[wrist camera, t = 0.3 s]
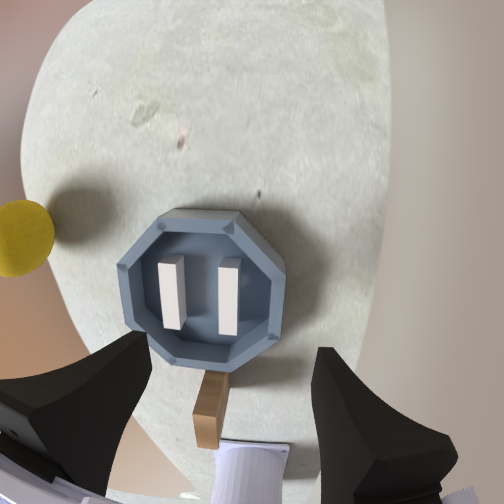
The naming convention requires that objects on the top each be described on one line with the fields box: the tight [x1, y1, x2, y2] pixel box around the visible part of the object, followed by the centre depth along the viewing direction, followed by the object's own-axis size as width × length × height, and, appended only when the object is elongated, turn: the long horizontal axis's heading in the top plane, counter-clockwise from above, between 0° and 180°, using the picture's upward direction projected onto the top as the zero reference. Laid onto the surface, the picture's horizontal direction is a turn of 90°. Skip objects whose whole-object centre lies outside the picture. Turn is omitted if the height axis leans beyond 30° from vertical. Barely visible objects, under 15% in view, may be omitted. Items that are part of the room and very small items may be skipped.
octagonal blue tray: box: [117, 208, 286, 373], centre depth 20 cm, size 11×11×3 cm
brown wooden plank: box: [192, 370, 230, 450], centre depth 21 cm, size 4×2×7 cm, turn 177°
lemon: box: [0, 200, 55, 277], centre depth 17 cm, size 6×6×8 cm
